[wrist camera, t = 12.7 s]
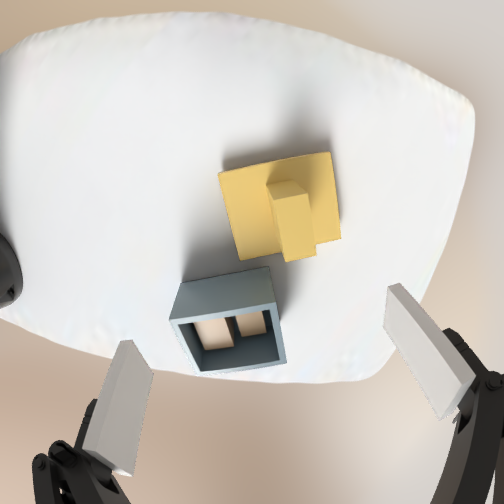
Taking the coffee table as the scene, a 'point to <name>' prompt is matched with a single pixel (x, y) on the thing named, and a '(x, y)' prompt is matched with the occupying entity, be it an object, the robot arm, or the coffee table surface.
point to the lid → (282, 206)
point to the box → (229, 323)
